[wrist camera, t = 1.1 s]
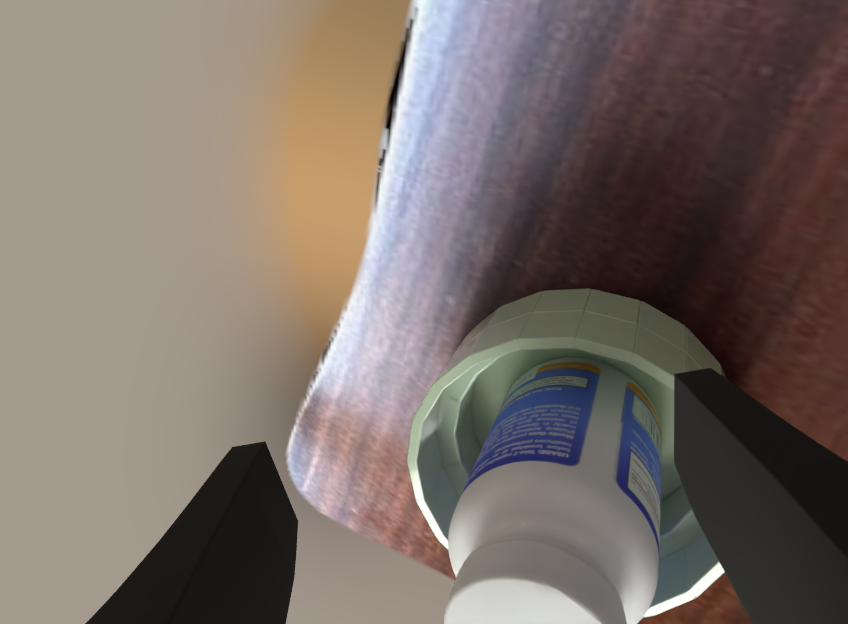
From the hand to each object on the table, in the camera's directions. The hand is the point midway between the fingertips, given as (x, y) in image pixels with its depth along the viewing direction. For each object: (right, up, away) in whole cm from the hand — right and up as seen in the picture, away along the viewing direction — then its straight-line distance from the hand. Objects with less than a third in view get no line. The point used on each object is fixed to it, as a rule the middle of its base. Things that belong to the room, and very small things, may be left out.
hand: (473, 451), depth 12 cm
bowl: (+5, -1, +12) cm, 13 cm away
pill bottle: (+5, -1, +12) cm, 12 cm away
